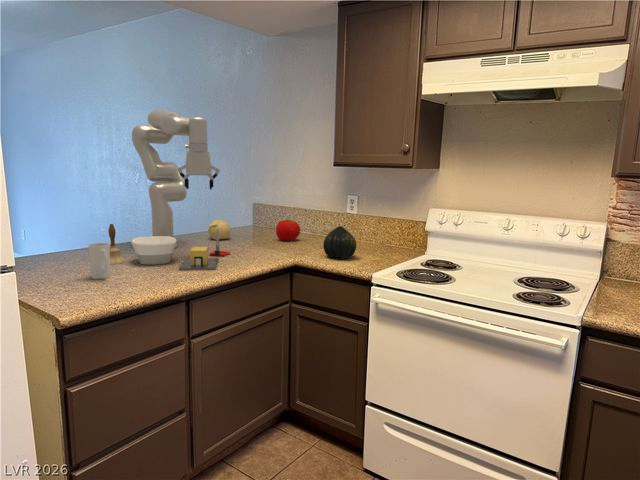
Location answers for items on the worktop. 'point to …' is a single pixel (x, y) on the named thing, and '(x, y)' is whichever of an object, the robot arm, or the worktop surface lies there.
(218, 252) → the tow hook
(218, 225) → the sculpture
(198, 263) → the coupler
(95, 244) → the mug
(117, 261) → the hand bell
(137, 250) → the bowl
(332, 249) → the squash
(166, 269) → the worktop surface
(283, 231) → the tomato
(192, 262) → the notched yellow block
